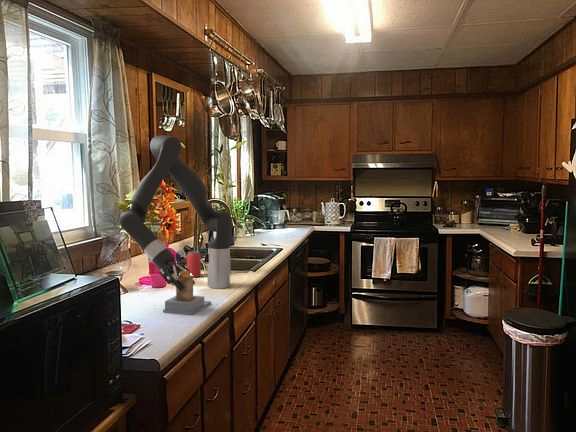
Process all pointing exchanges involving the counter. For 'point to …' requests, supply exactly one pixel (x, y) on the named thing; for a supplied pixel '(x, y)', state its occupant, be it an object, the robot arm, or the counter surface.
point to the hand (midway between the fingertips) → (188, 287)
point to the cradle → (185, 305)
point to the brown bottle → (188, 284)
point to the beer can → (194, 263)
